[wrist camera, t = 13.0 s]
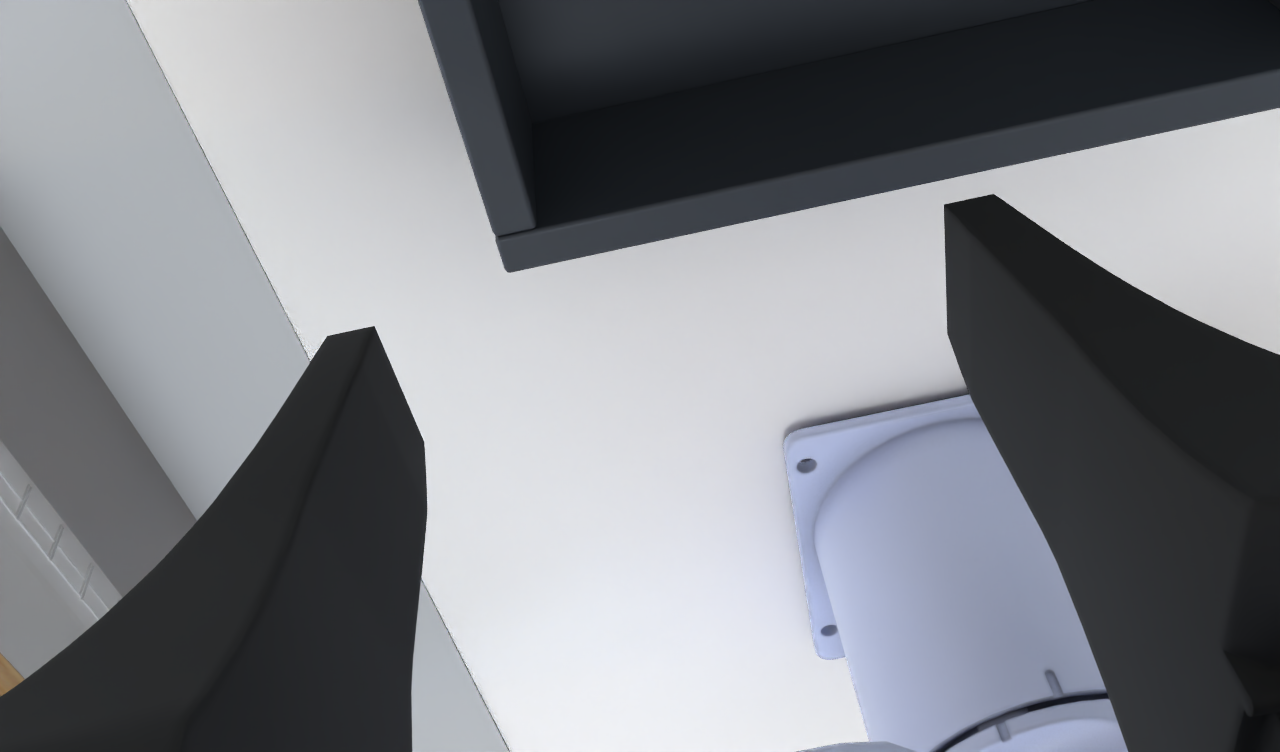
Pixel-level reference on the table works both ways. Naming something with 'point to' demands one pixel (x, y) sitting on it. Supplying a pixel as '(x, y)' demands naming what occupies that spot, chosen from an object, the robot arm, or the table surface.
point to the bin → (809, 100)
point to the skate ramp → (133, 347)
